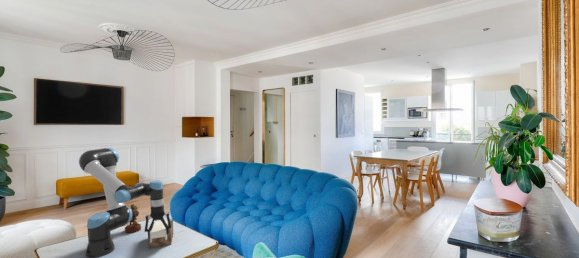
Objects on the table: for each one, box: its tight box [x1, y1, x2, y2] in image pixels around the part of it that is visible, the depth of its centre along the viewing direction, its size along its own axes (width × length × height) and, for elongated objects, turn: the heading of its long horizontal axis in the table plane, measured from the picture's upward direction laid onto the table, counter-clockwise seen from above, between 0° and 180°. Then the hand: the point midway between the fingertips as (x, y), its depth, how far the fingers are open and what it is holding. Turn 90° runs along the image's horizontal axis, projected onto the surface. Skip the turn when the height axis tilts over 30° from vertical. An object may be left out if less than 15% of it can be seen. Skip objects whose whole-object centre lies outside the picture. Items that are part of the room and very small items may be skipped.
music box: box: [124, 203, 142, 234], centre depth 205 cm, size 15×11×20 cm
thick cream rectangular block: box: [151, 219, 168, 239], centre depth 182 cm, size 8×18×4 cm, turn 19°
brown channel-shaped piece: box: [147, 219, 174, 249], centre depth 188 cm, size 14×18×10 cm
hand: (158, 240), depth 176 cm, fingers closed on thick cream rectangular block, 8 cm apart
